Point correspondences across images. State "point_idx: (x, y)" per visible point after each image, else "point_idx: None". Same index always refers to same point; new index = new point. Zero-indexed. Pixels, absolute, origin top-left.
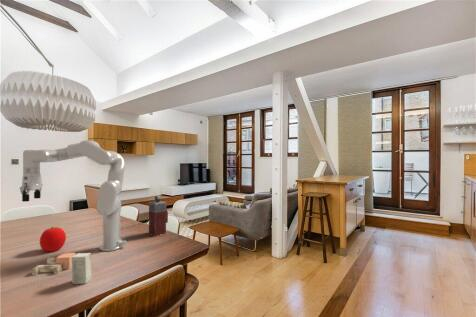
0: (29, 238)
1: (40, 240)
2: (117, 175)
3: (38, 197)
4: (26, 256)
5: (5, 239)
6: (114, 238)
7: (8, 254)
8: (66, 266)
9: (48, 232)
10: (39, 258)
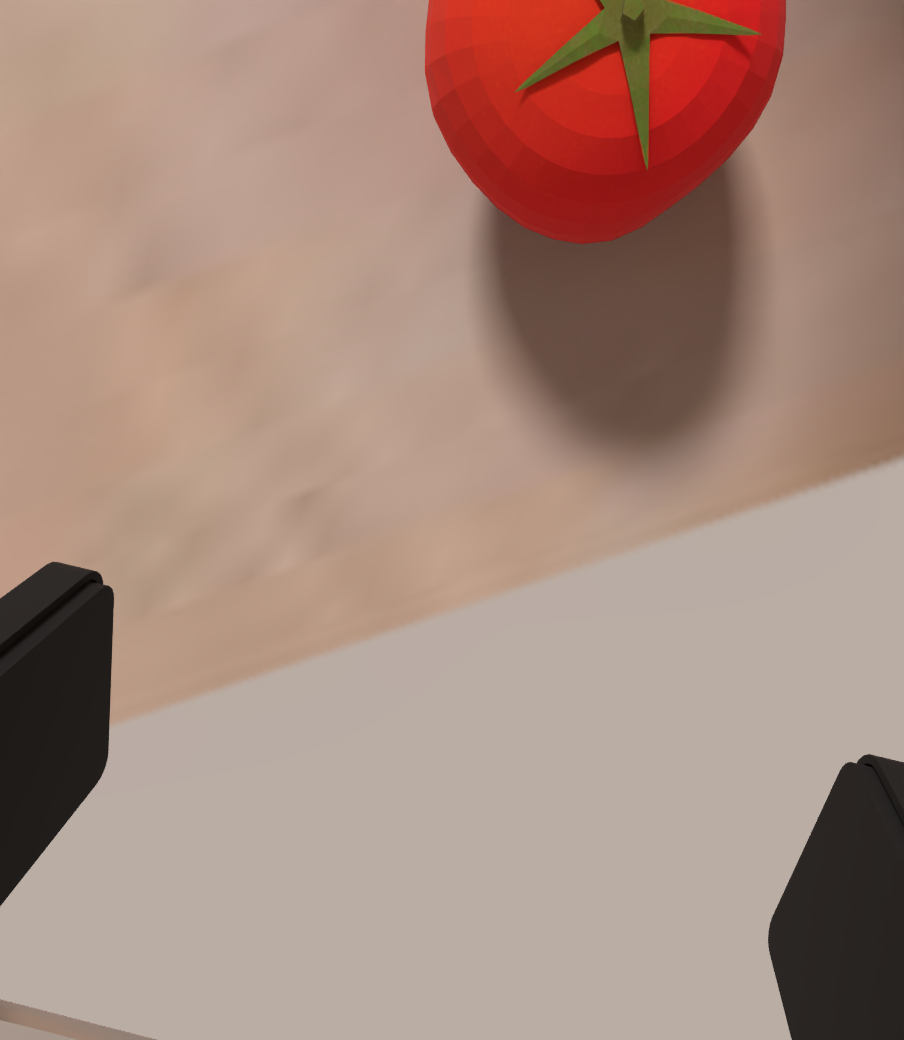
0: (32, 537)
1: (657, 215)
2: None
3: (91, 635)
4: (705, 334)
5: None
6: None
7: (544, 547)
8: None
9: (766, 48)
10: (868, 141)
